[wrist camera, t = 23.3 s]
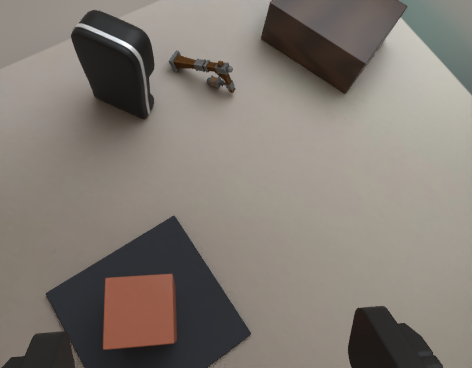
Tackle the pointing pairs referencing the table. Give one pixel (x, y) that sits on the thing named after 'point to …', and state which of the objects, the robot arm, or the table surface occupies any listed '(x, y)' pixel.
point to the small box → (139, 311)
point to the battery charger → (116, 61)
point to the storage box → (331, 34)
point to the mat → (187, 305)
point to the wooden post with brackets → (205, 69)
